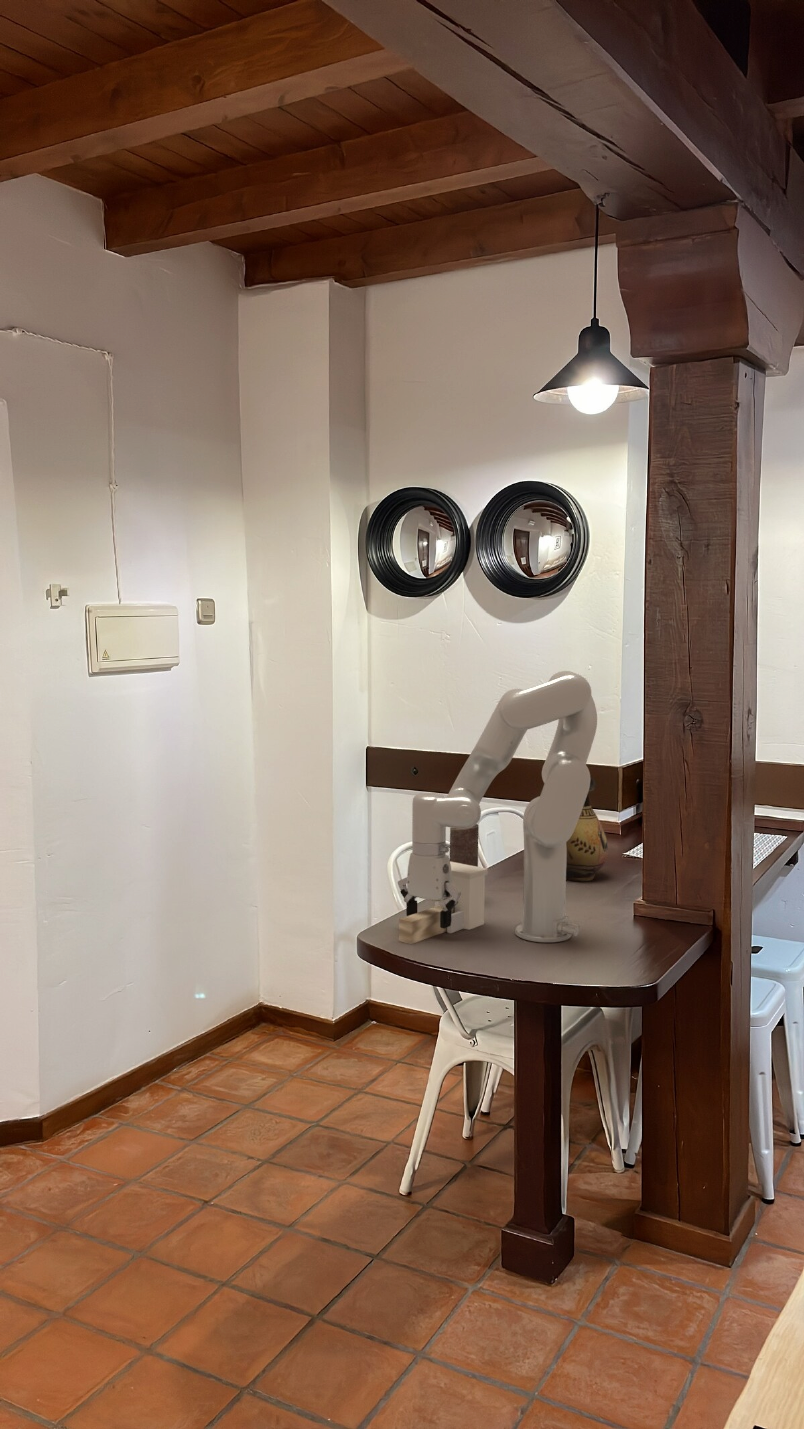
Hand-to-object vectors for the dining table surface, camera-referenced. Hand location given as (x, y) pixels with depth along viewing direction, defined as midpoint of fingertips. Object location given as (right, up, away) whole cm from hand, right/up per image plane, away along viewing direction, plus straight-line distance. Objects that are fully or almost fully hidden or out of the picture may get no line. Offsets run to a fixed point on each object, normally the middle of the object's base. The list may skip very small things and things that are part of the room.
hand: (428, 922), depth 243 cm
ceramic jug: (+43, +2, +55) cm, 70 cm away
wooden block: (0, -3, 0) cm, 3 cm away
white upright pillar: (+6, -2, +7) cm, 9 cm away
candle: (+9, 0, +27) cm, 29 cm away
